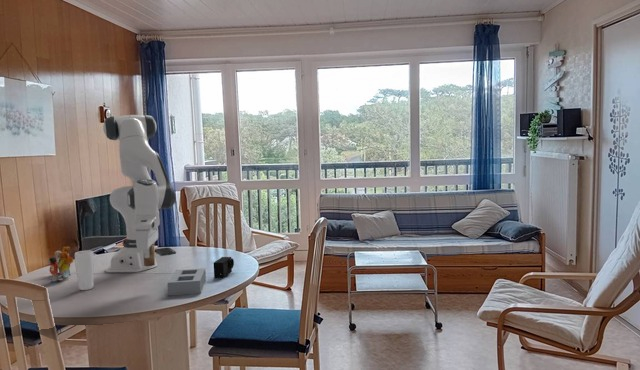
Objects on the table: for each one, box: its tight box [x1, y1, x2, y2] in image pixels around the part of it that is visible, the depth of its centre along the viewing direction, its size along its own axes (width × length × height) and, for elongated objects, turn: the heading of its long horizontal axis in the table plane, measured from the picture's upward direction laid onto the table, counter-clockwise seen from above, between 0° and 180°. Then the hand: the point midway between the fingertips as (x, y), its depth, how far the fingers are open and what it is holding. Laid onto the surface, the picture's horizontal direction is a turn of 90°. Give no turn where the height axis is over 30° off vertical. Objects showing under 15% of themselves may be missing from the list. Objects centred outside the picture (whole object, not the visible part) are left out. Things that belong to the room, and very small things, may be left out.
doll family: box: [48, 246, 75, 285], centre depth 197 cm, size 21×10×13 cm, turn 22°
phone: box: [154, 246, 177, 257], centre depth 243 cm, size 8×1×15 cm
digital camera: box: [213, 256, 235, 279], centre depth 196 cm, size 10×5×7 cm, turn 171°
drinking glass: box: [74, 249, 95, 291], centre depth 180 cm, size 7×7×15 cm
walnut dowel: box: [143, 243, 156, 266], centre depth 176 cm, size 4×4×8 cm
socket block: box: [167, 267, 207, 296], centre depth 179 cm, size 12×18×5 cm, turn 8°
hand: (148, 255), depth 176 cm, fingers closed on walnut dowel, 4 cm apart
